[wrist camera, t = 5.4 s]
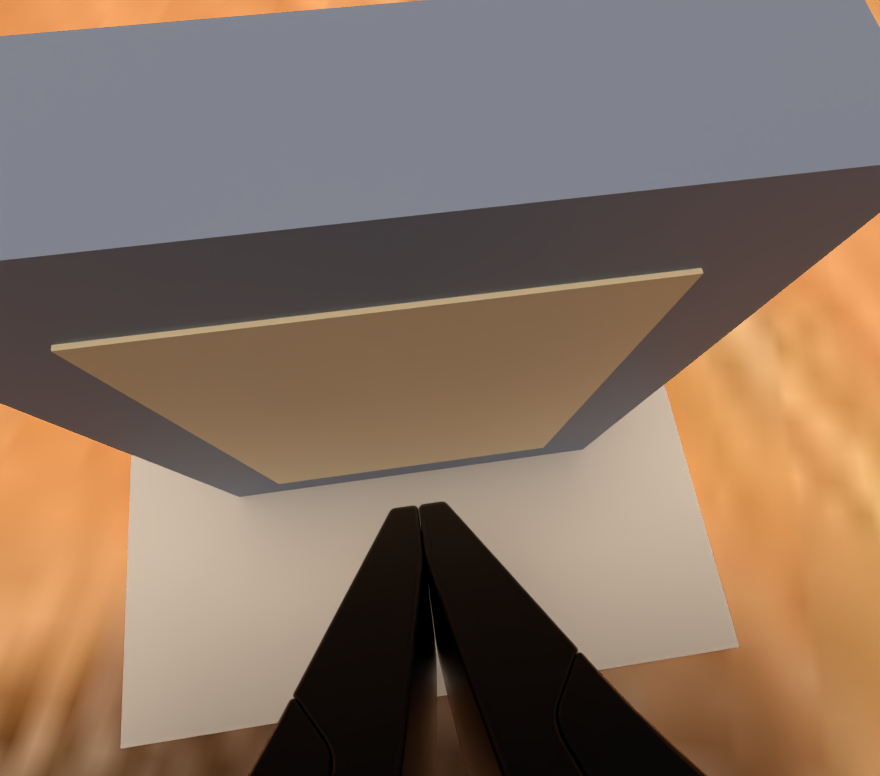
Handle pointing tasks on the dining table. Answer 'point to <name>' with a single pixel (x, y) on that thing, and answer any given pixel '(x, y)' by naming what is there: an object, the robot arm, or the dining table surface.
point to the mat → (343, 551)
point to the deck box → (412, 221)
